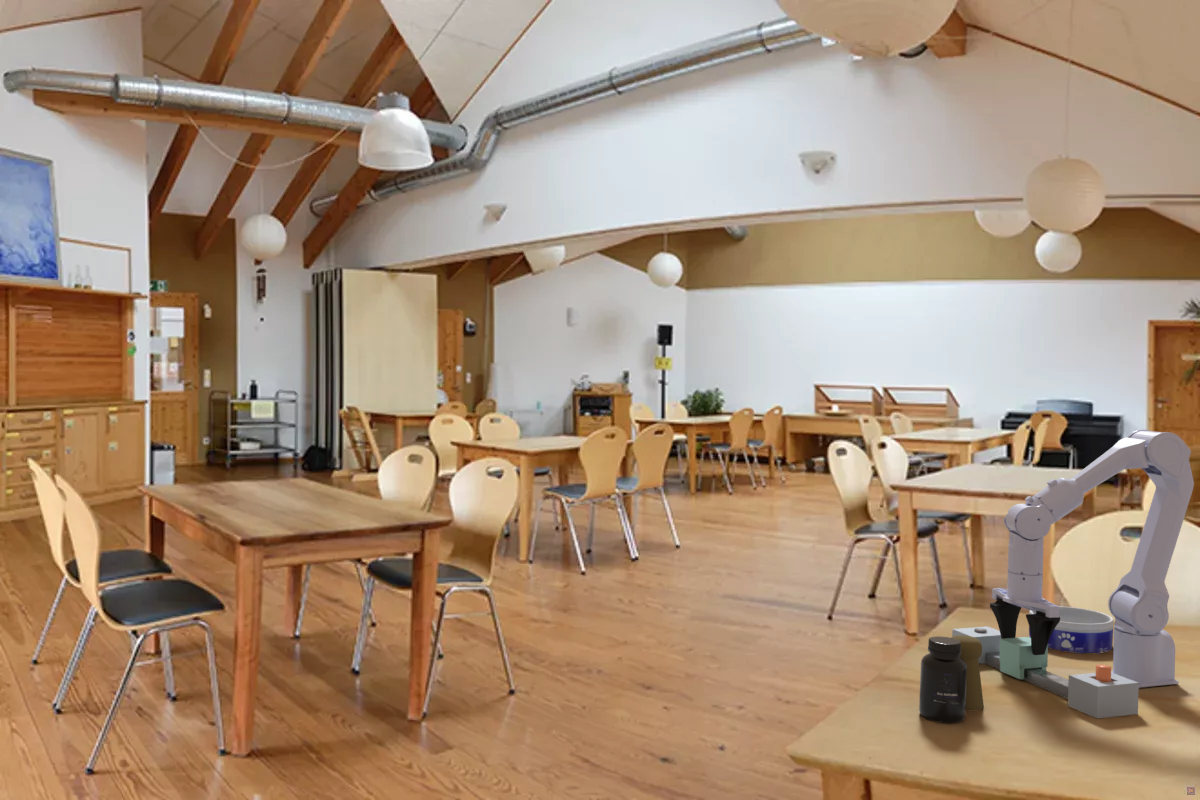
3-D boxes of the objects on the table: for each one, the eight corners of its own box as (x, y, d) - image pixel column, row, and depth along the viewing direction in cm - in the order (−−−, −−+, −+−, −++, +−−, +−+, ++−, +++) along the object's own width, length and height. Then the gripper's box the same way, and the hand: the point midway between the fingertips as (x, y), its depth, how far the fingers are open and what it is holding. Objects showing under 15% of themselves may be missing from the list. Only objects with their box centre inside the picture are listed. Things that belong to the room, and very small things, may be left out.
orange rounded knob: (1103, 688, 155) (1103, 663, 155) (1114, 692, 153) (1114, 667, 153) (1092, 689, 154) (1092, 664, 154) (1102, 694, 152) (1103, 668, 152)
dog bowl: (1034, 650, 188) (1034, 619, 188) (1023, 631, 203) (1024, 602, 203) (1120, 658, 184) (1121, 626, 184) (1103, 637, 198) (1104, 608, 198)
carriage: (1027, 668, 174) (1027, 636, 174) (1047, 676, 169) (1047, 644, 169) (999, 671, 172) (999, 638, 172) (1018, 679, 167) (1019, 646, 167)
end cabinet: (1107, 701, 158) (1108, 671, 157) (1137, 714, 152) (1138, 682, 152) (1068, 705, 155) (1068, 675, 155) (1096, 718, 149) (1097, 686, 149)
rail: (999, 662, 179) (999, 651, 179) (1090, 700, 158) (1091, 688, 158) (985, 663, 178) (985, 653, 178) (1075, 702, 157) (1076, 690, 157)
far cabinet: (987, 652, 186) (987, 624, 186) (1008, 660, 180) (1009, 632, 180) (951, 655, 183) (952, 626, 183) (972, 664, 178) (973, 635, 178)
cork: (987, 712, 152) (988, 642, 152) (947, 708, 153) (948, 640, 153) (980, 699, 158) (981, 633, 158) (941, 696, 159) (942, 630, 159)
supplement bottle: (943, 727, 145) (945, 648, 145) (909, 712, 151) (911, 637, 151) (975, 720, 148) (977, 642, 148) (941, 706, 154) (942, 632, 154)
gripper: (979, 565, 176) (977, 638, 176) (1035, 581, 162) (1033, 661, 163) (1011, 563, 178) (1009, 636, 178) (1070, 579, 164) (1067, 658, 165)
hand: (1023, 648), depth 171 cm, fingers open, 7 cm apart
